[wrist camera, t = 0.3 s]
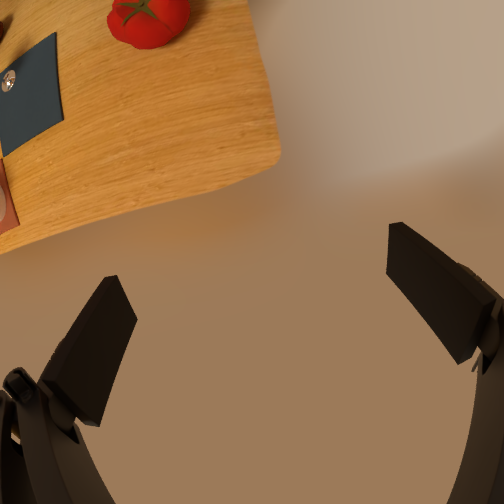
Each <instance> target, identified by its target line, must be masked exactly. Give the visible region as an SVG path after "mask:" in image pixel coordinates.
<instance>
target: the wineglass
mask: <svg viewBox="0 0 504 504" xmlns="http://www.w3.org/2000/svg"><path fill="white" fill-rule="evenodd" d="M15 76H16V74H15V71H14V70H10V71H8V72H7V73H6V74H5V76H4V78H3V80H0V82H2V90H3V91H4V92H7V91H9V90H10V89H11V88H12V86H13V84H14V81H15Z"/></svg>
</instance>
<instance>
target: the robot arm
mask: <svg viewBox="0 0 504 504" xmlns="http://www.w3.org/2000/svg"><path fill="white" fill-rule="evenodd" d="M386 270H387V271H386V274H387V275H388V277H389V278H390V279H391V280H392V281H393V282H394V283H395V285H396V286H397V287H398V288H399V289H400V290H401V292H402V293H403V294H404V295H405V296H406V297H407V299H408V300H409V301H410V302H411V303H412V305H413V306H414V307H415V309H416V310H417V311H418V312H419V314H420V315H421V316H422V317H423V319H424V320H425V321H426V322H427V324H428V325H429V326H430V327H431V329H432V330H433V331H434V333H435V334H436V335H437V337H438V338H439V339H440V341H441V342H442V344H443V345H444V346H445V347H446V349H447V350H448V352H449V353H450V355H451V356H452V357H453V359H454V360H455V361H456V363H457V364H458V365H459V364H460V363H463V362H464V361H466V360H468V359H470V358H471V357H472V355H473V353H474V352H475V350H476V348H477V346H478V347H479V348H480V350H481V353H480V354H479V356H478V358H477V360H476V362H475V364H474V366H473V368H472V372H474V370H475V369H476V367H477V366H478V371H477V373H478V374H477V385H476V394H475V401H474V408H473V414H472V420H471V426H470V430H469V435H468V440H467V443H466V448H465V451H464V455H463V459H462V462H461V465H460V469H459V472H458V475H457V478H456V481H455V484H454V487H453V489H452V492H451V494H450V497H449V499H448V502H447V504H504V299H503V298H502V297H501V296H500V295H499V294H498V293H497V292H495V291H494V290H493V289H492V288H491V287H490V286H489V285H488V284H487V283H485V282H484V281H482V279H481V278H480V277H479V276H476V274H475V273H474V272H473V271H472V270H470V269H469V268H468V267H466V266H464V265H462V264H460V263H456V262H455V261H454V260H452V259H451V258H450V257H448V256H447V255H446V254H445V253H444V252H442V251H441V250H440V249H438V248H437V247H436V246H434V245H433V244H432V243H430V242H429V241H428V240H427V239H425V238H424V237H422V236H421V235H420V234H418V233H417V232H415V231H414V230H413V229H411V228H410V227H409V226H407V225H406V224H404V223H403V222H398V223H392V224H389V238H388V257H387V269H386ZM137 320H138V319H137V317H136V315H135V313H134V311H133V309H132V307H131V305H130V303H129V301H128V299H127V296H126V294H125V292H124V290H123V288H122V285H121V283H120V281H119V279H118V276H117V275H114V276H109V277H105V278H104V279H103V280H102V282H101V283H100V284H99V286H98V287H97V289H96V290H95V292H94V293H93V295H92V296H91V297H90V299H89V300H88V302H87V303H86V305H85V306H84V308H83V309H82V311H81V313H80V314H79V315H78V317H77V319H76V320H75V322H74V323H73V325H72V326H71V328H70V330H69V331H68V333H67V335H66V336H65V338H64V339H63V340H62V341H61V342H60V343H59V344H58V346H57V348H56V349H55V353H53V355H52V356H51V360H49V362H48V363H47V365H46V367H45V369H44V371H43V373H42V374H41V376H40V379H39V380H38V382H37V384H36V383H35V381H34V380H33V379H32V378H31V377H30V376H29V374H28V373H27V372H26V371H25V370H24V369H23V368H22V367H18V368H15V369H13V370H12V371H11V372H9V374H8V375H7V376H6V378H5V380H4V382H3V388H4V389H5V390H6V391H7V392H8V393H9V395H10V396H11V397H12V398H10V396H9V395H8V394H7V393H6V392H5V391H3V390H0V504H115V502H114V500H113V498H112V497H111V495H110V493H109V492H108V490H107V488H106V486H105V485H104V482H103V481H102V479H101V477H100V475H99V473H98V471H97V469H96V467H95V465H94V463H93V460H92V458H91V456H90V454H89V451H88V449H87V447H86V444H85V442H84V440H83V437H82V435H81V432H80V429H79V427H78V426H77V425H76V424H75V423H74V421H75V418H76V417H77V418H78V419H79V420H80V421H81V422H83V423H84V424H85V425H90V426H96V427H100V424H101V420H102V417H103V414H104V410H105V407H106V404H107V401H108V398H109V395H110V392H111V389H112V386H113V383H114V380H115V377H116V375H117V372H118V369H119V366H120V363H121V361H122V358H123V355H124V353H125V350H126V347H127V345H128V342H129V340H130V337H131V335H132V332H133V330H134V327H135V325H136V322H137ZM11 432H12V433H13V434H14V435H15V436H17V437H18V438H19V439H20V444H18V443H16V442H15V441H14V440H13V439H12V438H11Z"/></svg>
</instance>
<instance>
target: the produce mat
mask: <svg viewBox="0 0 504 504" xmlns="http://www.w3.org/2000/svg"><path fill="white" fill-rule="evenodd" d="M0 186H1V187H2V189H3V192H4V195H5V199H6V212H5V216H4V218H3V219H2V221H0V234H2V233H4V232H6V231H8V230H10V229H12V228H14V227H17V226H19V225H20V223H19V220H18V217H17V214H16V211H15V208H14V205H13V201H12V198H11V194H10V191H9V187H8V183H7V179H6V175H5V170H4V166H3V161H2V159H1V160H0Z"/></svg>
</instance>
